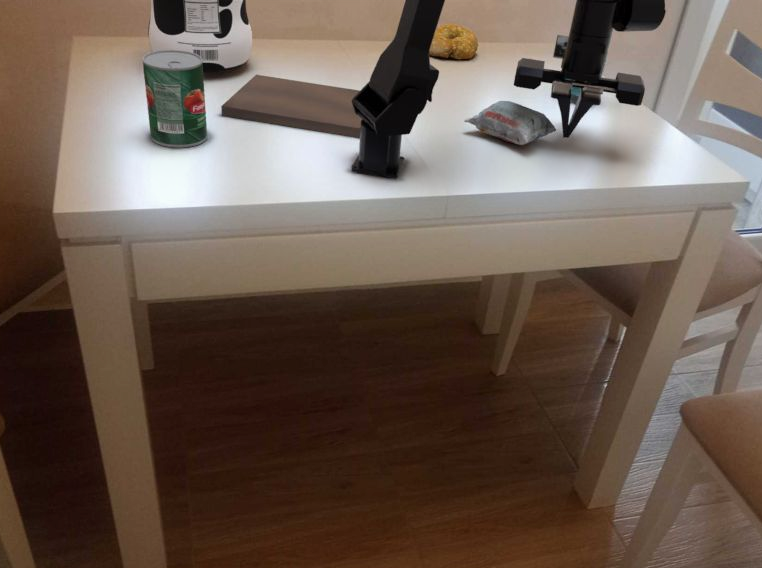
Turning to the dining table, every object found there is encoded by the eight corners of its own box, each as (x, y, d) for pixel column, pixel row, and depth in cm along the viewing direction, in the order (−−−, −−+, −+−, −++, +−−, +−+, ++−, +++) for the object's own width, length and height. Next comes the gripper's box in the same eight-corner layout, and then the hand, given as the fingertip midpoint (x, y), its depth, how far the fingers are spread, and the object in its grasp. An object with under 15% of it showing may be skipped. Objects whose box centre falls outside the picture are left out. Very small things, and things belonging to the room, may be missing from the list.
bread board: (361, 138, 116) (362, 128, 115) (221, 115, 118) (221, 106, 117) (383, 103, 129) (383, 94, 128) (256, 83, 131) (256, 74, 130)
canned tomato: (146, 128, 112) (137, 50, 105) (201, 124, 115) (196, 48, 108) (155, 150, 106) (147, 69, 100) (213, 145, 109) (208, 67, 102)
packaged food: (524, 157, 116) (530, 125, 113) (461, 132, 121) (466, 101, 118) (554, 143, 121) (561, 113, 118) (493, 120, 127) (498, 90, 124)
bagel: (413, 50, 154) (416, 25, 151) (451, 43, 160) (454, 19, 157) (449, 64, 148) (452, 39, 145) (487, 56, 155) (491, 32, 152)
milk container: (205, 43, 145) (199, -63, 134) (273, 67, 138) (272, -44, 127) (130, 61, 134) (116, -54, 123) (199, 88, 126) (191, -31, 115)
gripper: (652, 27, 115) (624, 128, 125) (528, 9, 117) (509, 110, 126) (658, 47, 107) (627, 154, 116) (523, 27, 108) (504, 134, 118)
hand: (565, 137), depth 119 cm, fingers closed
